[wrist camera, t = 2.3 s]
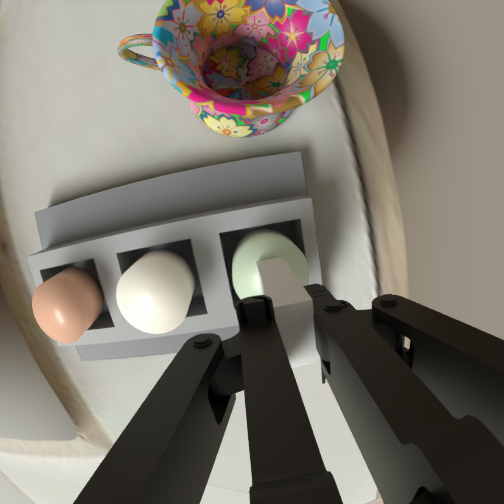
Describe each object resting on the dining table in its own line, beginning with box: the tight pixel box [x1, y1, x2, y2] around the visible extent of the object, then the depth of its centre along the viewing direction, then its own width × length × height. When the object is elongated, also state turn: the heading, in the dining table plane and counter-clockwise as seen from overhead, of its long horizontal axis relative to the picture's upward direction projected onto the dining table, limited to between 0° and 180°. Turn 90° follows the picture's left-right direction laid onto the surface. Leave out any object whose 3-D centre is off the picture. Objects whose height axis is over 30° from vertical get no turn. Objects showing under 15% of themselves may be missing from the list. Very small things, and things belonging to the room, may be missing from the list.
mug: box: [118, 0, 345, 137], centre depth 16 cm, size 12×9×11 cm
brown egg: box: [32, 267, 104, 343], centre depth 18 cm, size 4×4×4 cm
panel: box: [28, 151, 322, 361], centre depth 22 cm, size 14×22×5 cm, turn 100°
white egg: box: [116, 249, 195, 334], centre depth 18 cm, size 4×4×4 cm
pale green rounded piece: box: [232, 229, 309, 299], centre depth 19 cm, size 4×4×4 cm
